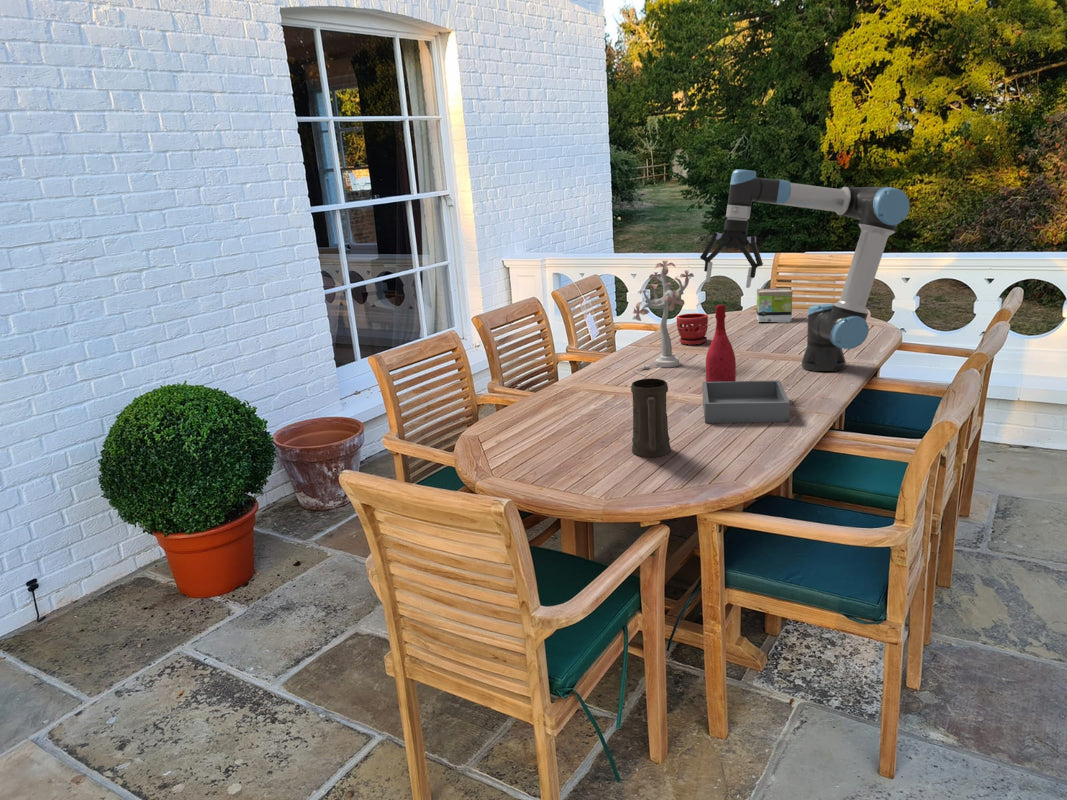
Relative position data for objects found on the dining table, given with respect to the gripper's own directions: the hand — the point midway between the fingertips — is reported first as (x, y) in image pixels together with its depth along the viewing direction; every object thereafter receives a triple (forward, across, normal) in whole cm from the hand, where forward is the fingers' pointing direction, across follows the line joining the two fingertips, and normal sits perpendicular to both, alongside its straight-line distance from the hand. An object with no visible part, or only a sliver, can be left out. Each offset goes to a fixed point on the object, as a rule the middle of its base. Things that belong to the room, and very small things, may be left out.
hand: (727, 284), depth 265 cm
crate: (+36, +16, -20) cm, 44 cm away
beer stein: (+42, +3, -64) cm, 77 cm away
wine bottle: (+36, +4, -3) cm, 36 cm away
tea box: (+26, -6, +116) cm, 119 cm away
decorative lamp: (+37, -27, +27) cm, 53 cm away
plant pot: (+34, -28, +66) cm, 80 cm away
